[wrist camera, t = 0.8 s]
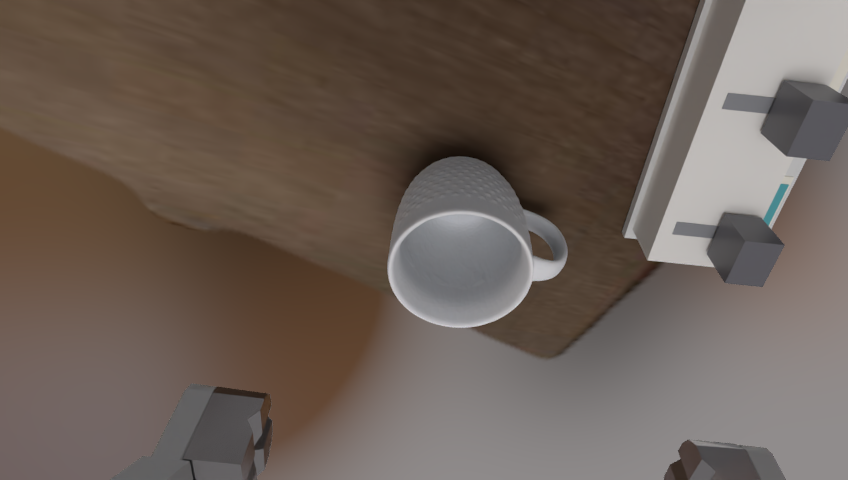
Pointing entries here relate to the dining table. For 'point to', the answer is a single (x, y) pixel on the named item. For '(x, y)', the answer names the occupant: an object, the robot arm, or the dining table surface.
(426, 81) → the dining table surface
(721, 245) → the slider
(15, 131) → the dining table surface
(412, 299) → the mug
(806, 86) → the slider middle
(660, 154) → the switch unit
